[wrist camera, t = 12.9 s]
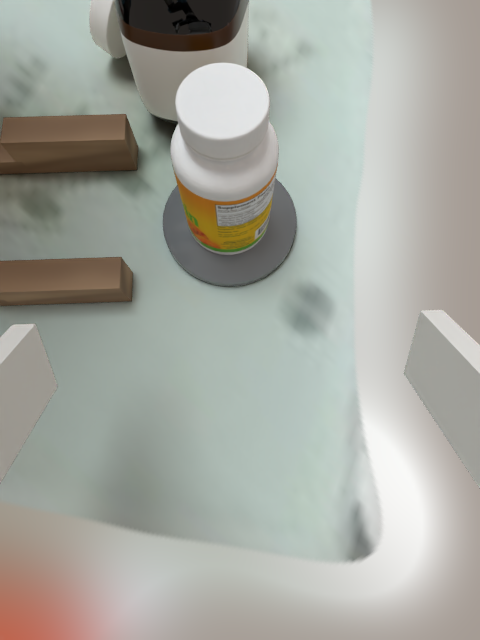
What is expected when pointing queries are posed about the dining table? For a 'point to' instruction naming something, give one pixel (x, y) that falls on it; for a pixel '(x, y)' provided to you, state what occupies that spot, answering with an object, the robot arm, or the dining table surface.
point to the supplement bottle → (225, 156)
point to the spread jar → (170, 41)
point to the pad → (234, 266)
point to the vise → (66, 156)
